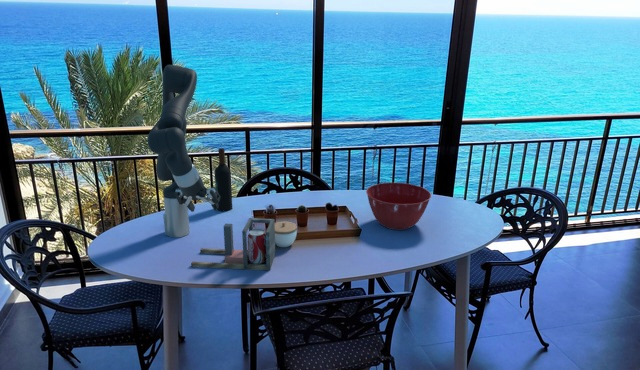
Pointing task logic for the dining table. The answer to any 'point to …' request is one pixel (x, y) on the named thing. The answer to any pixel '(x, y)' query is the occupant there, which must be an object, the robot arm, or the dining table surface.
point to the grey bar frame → (245, 249)
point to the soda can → (256, 246)
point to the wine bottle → (223, 183)
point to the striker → (231, 247)
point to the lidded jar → (285, 233)
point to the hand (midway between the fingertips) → (204, 209)
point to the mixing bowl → (398, 204)
